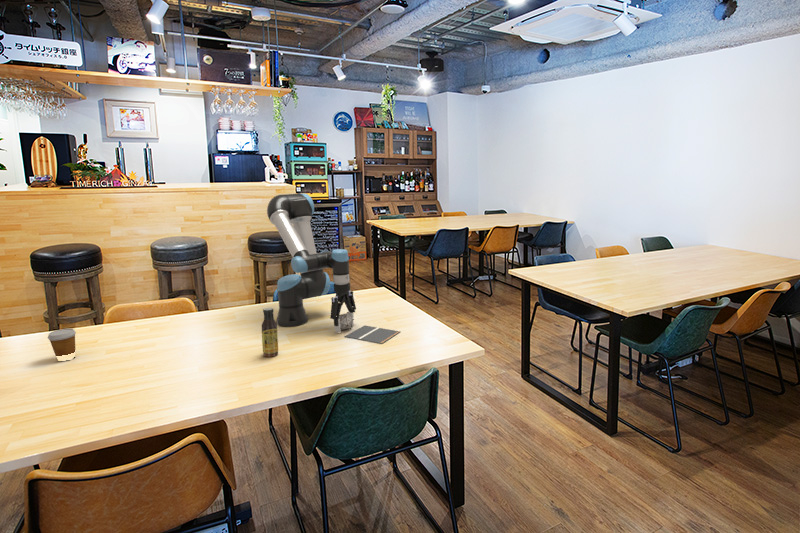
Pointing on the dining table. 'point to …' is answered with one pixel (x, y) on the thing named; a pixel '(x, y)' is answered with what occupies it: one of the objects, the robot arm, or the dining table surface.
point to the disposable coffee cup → (63, 341)
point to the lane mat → (373, 334)
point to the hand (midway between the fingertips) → (344, 328)
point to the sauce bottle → (269, 334)
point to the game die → (345, 321)
